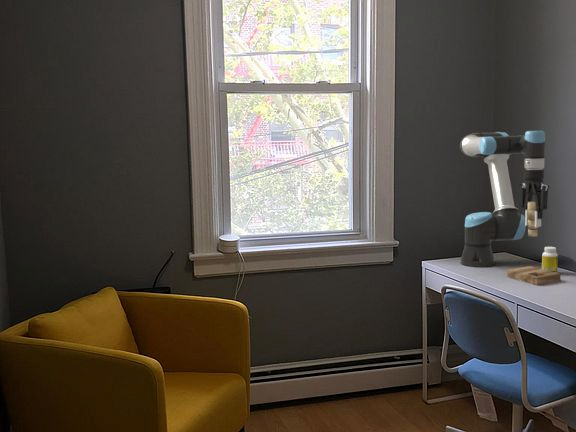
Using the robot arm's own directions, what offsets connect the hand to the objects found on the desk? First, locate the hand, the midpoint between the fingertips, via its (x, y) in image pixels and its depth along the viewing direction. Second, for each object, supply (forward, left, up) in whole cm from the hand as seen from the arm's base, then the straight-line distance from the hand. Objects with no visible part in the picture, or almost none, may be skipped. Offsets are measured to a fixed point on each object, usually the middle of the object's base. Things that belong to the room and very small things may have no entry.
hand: (533, 225), depth 253 cm
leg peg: (0, 0, -4) cm, 4 cm away
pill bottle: (-3, +13, -22) cm, 26 cm away
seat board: (+1, 0, -22) cm, 22 cm away
